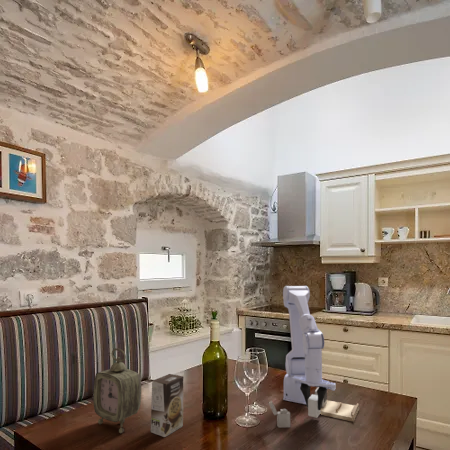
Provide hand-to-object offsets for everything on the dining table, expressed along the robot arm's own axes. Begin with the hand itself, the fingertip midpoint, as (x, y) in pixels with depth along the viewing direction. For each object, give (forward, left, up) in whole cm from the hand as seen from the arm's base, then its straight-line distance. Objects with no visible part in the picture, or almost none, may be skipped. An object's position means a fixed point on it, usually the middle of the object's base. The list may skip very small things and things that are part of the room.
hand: (314, 407), depth 125 cm
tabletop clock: (-56, -36, -4) cm, 67 cm away
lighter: (-9, -10, -4) cm, 14 cm away
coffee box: (-40, -30, -4) cm, 50 cm away
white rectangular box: (0, 0, -2) cm, 2 cm away
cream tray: (+5, +11, -4) cm, 13 cm away
